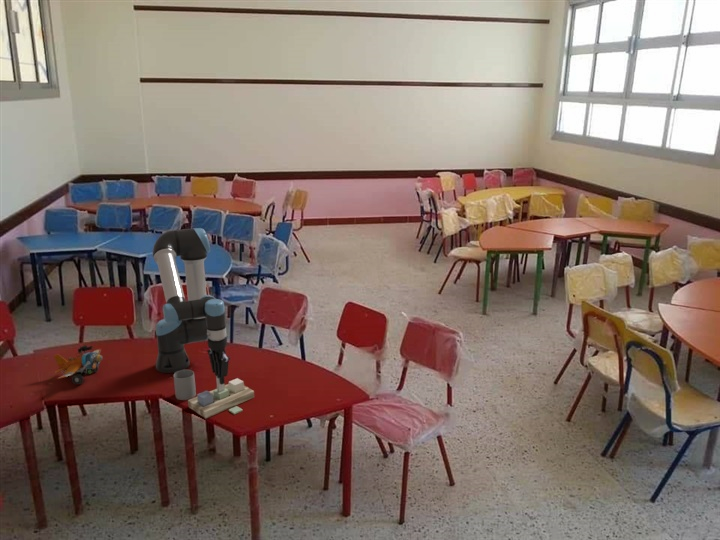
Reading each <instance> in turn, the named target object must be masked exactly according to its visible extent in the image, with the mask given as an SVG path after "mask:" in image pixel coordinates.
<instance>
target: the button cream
mask: <svg viewBox="0 0 720 540" xmlns="http://www.w3.org/2000/svg"><path fill="white" fill-rule="evenodd" d="M228 384H229V391H231V392H233V393H234V394H236V393H238V392H241V391H243V390H244V386H245V383H244V380H241V379H240V378H238V377H237V378H235V379H232V380H229V381H228Z"/></svg>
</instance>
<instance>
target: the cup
mask: <svg viewBox="0 0 720 540" xmlns="http://www.w3.org/2000/svg"><path fill="white" fill-rule="evenodd" d="M173 384H174V392H175V399H177V400H178V401H188V400H190V399H193V398H195V397H196V396H197V392H196V391H197V390H196V388H197V387H196V381H195V372H194V371H193V370H191V369H184V370H180V371H177V372H175V373H174V374H173Z"/></svg>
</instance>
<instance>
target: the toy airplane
mask: <svg viewBox="0 0 720 540" xmlns="http://www.w3.org/2000/svg"><path fill="white" fill-rule="evenodd" d="M101 352H102V348H97V349H95V350H93V345H92V346H87V344H86V345H82V346H80V347H79V348H78V349H77V353H76V354H75V357H73V356H70V357H68V360H67V359H65V358H64V357H63V356H62V355H60V354H59V353H57V354H53V358H54V360H55V362H56V364H57V366H58V369H57V370H55V371H54V374H56V373H59V372H61V373H62V374H63V375H62V376H59V377H57V380H59V379H63V378H69V377H71V382H72V383H73V384H74V385H76V384H80V385H82V384H83V382H84V377H85V375H91V374H92V373H97V372H98V371H99V369H100V368H99V366H100V364H101V362H102V361H103V359H104V358H103V355H101ZM68 376H69V377H68ZM81 383H82V384H81Z"/></svg>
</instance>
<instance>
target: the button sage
mask: <svg viewBox="0 0 720 540" xmlns="http://www.w3.org/2000/svg"><path fill="white" fill-rule="evenodd" d="M215 389H216V390H215ZM215 389H213V392H214V397H215V398H216V399H218V400H222V399H224V398H226V397H229V390H227V389H226V388H225V390H222V391H220V392H219V391H217V388H215Z"/></svg>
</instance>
